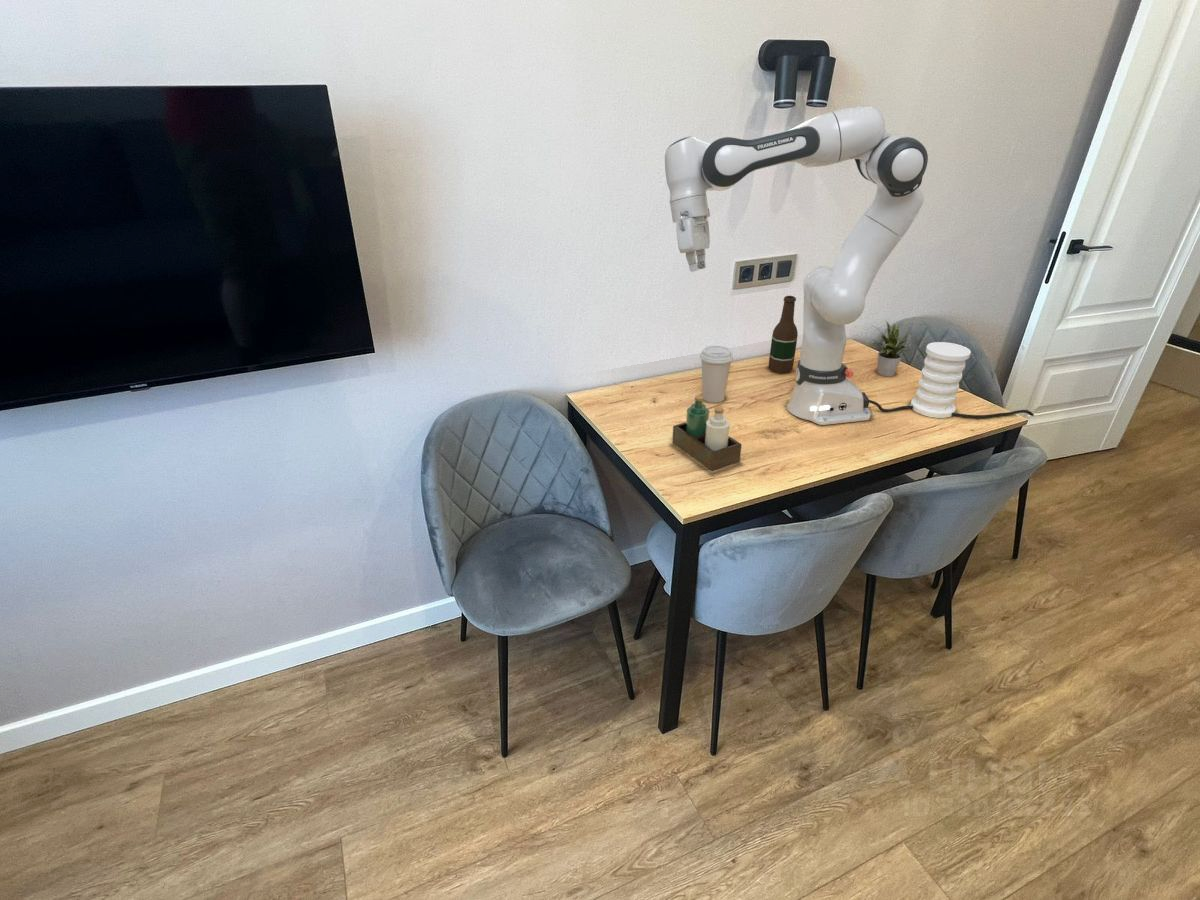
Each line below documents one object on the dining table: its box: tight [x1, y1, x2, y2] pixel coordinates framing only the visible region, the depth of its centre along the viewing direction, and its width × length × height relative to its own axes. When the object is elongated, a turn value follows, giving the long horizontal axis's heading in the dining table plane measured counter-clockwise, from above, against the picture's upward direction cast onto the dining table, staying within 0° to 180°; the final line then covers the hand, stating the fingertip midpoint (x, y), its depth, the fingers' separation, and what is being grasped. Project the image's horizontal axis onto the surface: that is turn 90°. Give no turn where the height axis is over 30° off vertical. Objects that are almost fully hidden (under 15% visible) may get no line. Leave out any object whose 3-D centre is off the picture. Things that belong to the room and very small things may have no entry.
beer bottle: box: [768, 295, 799, 375], centre depth 203 cm, size 8×8×24 cm
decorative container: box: [909, 341, 972, 419], centre depth 178 cm, size 12×12×18 cm
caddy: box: [672, 421, 743, 472], centre depth 161 cm, size 16×9×6 cm, turn 30°
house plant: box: [870, 320, 918, 377], centre depth 202 cm, size 14×14×16 cm
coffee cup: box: [699, 345, 734, 404], centre depth 187 cm, size 10×10×15 cm
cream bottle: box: [705, 406, 731, 451], centre depth 155 cm, size 6×6×14 cm
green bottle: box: [685, 394, 710, 438], centre depth 161 cm, size 6×6×14 cm
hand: (698, 270), depth 159 cm, fingers open, 8 cm apart
